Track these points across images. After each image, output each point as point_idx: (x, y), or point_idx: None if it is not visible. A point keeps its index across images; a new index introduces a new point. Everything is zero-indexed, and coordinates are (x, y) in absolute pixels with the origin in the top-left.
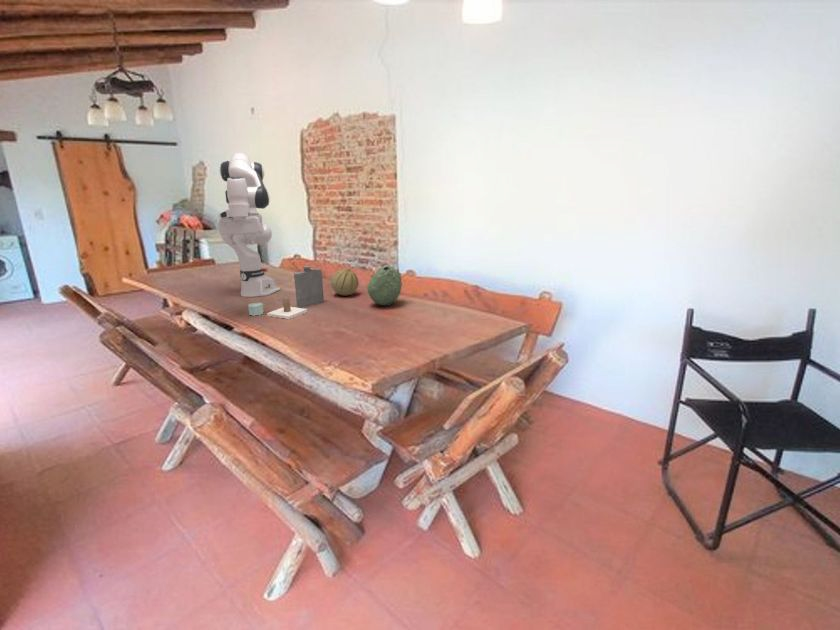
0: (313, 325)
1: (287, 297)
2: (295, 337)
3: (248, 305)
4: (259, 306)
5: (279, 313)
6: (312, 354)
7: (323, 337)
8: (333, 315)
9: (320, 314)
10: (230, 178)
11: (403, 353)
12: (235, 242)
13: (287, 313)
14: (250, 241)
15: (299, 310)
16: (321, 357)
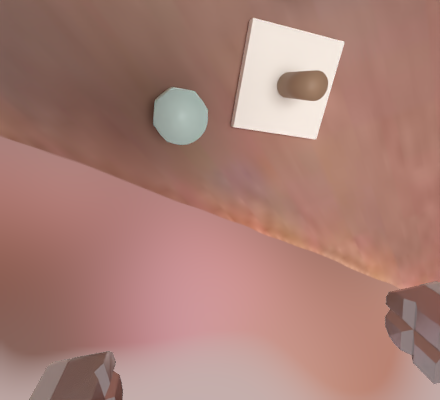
0: (387, 161)
1: (324, 92)
2: (370, 239)
3: (166, 139)
4: (205, 126)
5: (275, 118)
6: None
7: (422, 220)
8: (423, 59)
9: (384, 59)
10: None
11: None
12: (100, 390)
13: (300, 111)
14: (432, 365)
15: (324, 66)
16: None
